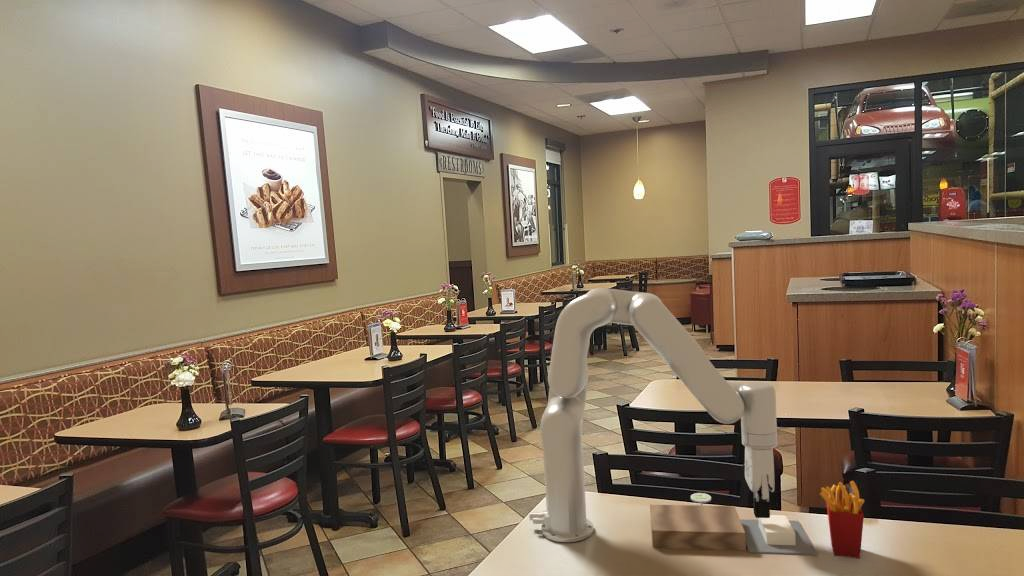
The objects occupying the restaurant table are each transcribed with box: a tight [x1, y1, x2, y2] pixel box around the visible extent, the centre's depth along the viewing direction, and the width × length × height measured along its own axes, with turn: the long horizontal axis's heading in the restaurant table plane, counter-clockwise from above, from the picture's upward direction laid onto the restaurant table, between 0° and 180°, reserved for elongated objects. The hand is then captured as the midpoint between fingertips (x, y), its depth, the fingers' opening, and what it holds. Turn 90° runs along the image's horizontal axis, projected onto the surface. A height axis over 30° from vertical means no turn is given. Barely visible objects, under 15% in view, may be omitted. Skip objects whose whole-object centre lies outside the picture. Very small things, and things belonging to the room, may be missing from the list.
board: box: [649, 504, 747, 551], centre depth 147 cm, size 20×14×4 cm
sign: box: [690, 492, 712, 506], centre depth 162 cm, size 5×1×15 cm
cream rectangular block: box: [757, 514, 796, 545], centre depth 143 cm, size 6×9×3 cm, turn 169°
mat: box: [740, 518, 819, 556], centre depth 144 cm, size 14×16×1 cm
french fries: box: [819, 480, 865, 559], centre depth 136 cm, size 9×8×15 cm
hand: (761, 516), depth 144 cm, fingers closed
